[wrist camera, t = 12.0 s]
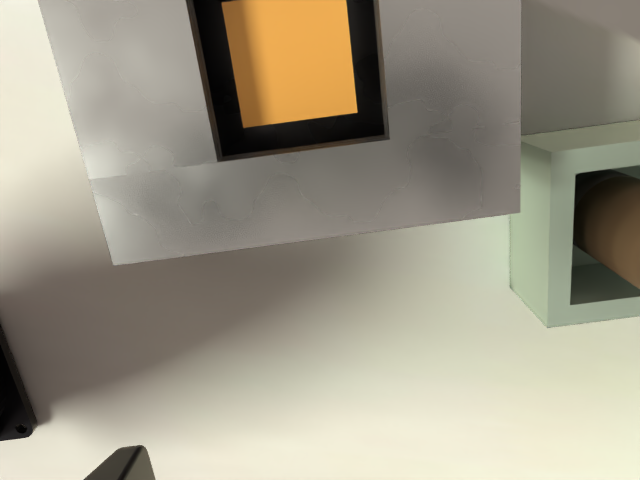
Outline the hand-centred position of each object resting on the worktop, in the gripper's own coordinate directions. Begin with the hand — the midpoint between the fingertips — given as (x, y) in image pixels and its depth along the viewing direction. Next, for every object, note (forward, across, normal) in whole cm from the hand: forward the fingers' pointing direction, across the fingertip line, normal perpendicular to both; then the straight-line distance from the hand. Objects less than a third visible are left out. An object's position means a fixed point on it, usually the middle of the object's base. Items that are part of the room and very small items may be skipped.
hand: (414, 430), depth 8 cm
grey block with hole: (+13, +1, -6) cm, 14 cm away
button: (+12, +1, -6) cm, 13 cm away
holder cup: (+12, -10, +1) cm, 16 cm away
